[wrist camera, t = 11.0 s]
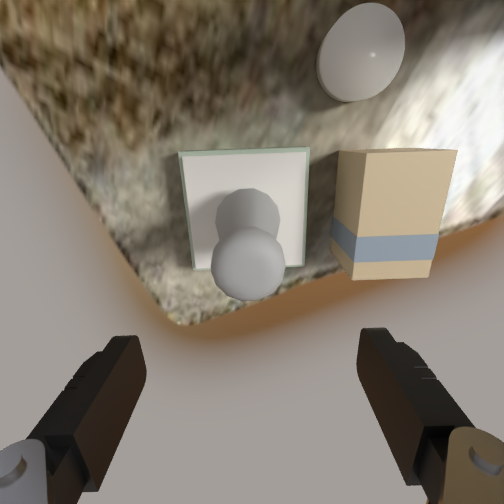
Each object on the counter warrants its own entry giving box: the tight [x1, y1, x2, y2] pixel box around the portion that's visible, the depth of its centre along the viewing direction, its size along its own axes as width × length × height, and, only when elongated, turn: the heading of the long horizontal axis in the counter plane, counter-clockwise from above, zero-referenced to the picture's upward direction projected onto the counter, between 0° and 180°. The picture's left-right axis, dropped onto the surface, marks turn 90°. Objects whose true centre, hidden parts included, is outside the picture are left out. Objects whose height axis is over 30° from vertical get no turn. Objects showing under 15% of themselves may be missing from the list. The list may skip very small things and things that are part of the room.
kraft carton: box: [331, 148, 458, 280], centre depth 26 cm, size 7×11×7 cm, turn 2°
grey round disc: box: [316, 3, 405, 102], centre depth 23 cm, size 6×6×3 cm
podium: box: [178, 146, 310, 271], centre depth 28 cm, size 12×12×3 cm
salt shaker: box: [211, 188, 286, 301], centre depth 21 cm, size 6×6×13 cm
